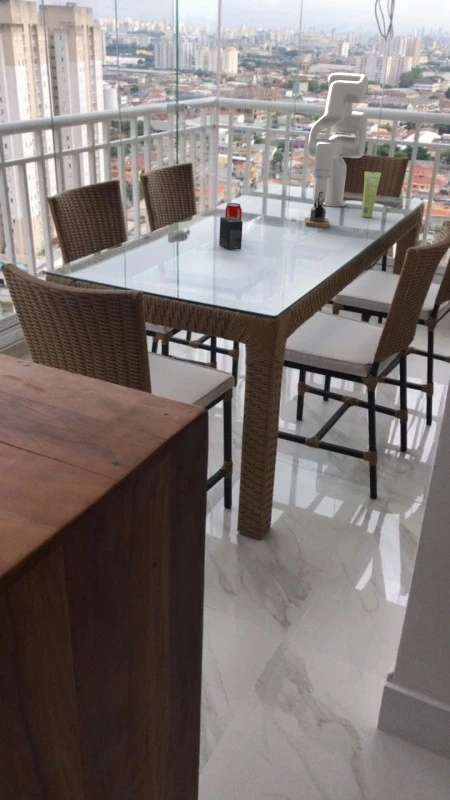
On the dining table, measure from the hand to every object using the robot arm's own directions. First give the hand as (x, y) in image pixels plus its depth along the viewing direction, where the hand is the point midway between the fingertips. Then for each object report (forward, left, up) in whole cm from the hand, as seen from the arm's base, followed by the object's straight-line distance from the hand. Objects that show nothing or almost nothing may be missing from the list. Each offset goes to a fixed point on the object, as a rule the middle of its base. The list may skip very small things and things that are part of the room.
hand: (317, 214), depth 299 cm
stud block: (0, 0, -4) cm, 4 cm away
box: (+46, -35, -4) cm, 58 cm away
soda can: (+28, -35, -4) cm, 45 cm away
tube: (-21, +24, -4) cm, 32 cm away
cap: (0, 0, -2) cm, 2 cm away
